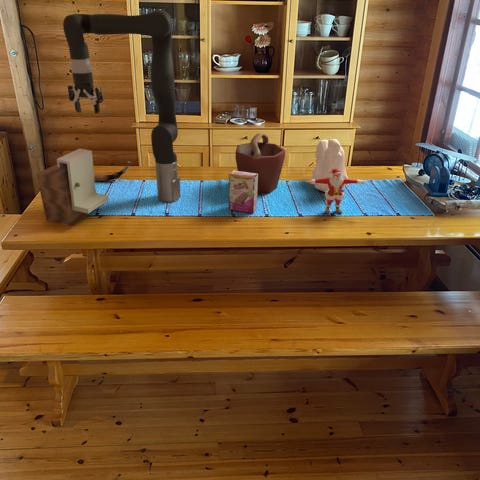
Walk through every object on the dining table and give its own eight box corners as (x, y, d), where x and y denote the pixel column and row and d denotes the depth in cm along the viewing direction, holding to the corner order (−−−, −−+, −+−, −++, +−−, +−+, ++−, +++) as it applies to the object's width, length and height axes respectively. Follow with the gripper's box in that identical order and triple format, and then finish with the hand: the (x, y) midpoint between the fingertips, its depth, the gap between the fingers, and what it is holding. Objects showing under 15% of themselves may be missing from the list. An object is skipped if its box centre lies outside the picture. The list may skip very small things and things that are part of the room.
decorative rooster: (350, 197, 216) (357, 143, 204) (315, 197, 215) (320, 143, 204) (338, 177, 238) (344, 127, 226) (306, 177, 237) (311, 127, 226)
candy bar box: (228, 210, 202) (228, 173, 194) (232, 205, 206) (232, 169, 198) (253, 214, 199) (254, 177, 191) (257, 209, 203) (258, 173, 195)
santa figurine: (303, 214, 200) (307, 171, 191) (302, 208, 205) (305, 166, 196) (363, 214, 200) (369, 172, 191) (360, 208, 205) (366, 167, 196)
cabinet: (98, 207, 203) (90, 150, 191) (71, 225, 188) (60, 165, 176) (74, 203, 206) (64, 147, 194) (46, 221, 191) (34, 161, 179)
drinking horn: (71, 179, 231) (68, 159, 226) (133, 179, 232) (131, 159, 228) (68, 183, 226) (64, 163, 222) (132, 183, 227) (130, 163, 223)
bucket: (266, 201, 211) (268, 146, 199) (223, 191, 220) (223, 138, 208) (289, 183, 229) (292, 132, 217) (248, 175, 239) (250, 125, 227)
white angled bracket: (108, 200, 196) (105, 153, 186) (88, 213, 185) (83, 164, 175) (84, 194, 199) (79, 148, 189) (62, 207, 188) (56, 159, 178)
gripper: (103, 70, 188) (108, 111, 196) (72, 68, 192) (78, 109, 199) (92, 73, 182) (98, 116, 189) (60, 71, 185) (67, 113, 193)
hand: (87, 112), depth 194 cm, fingers open, 8 cm apart
